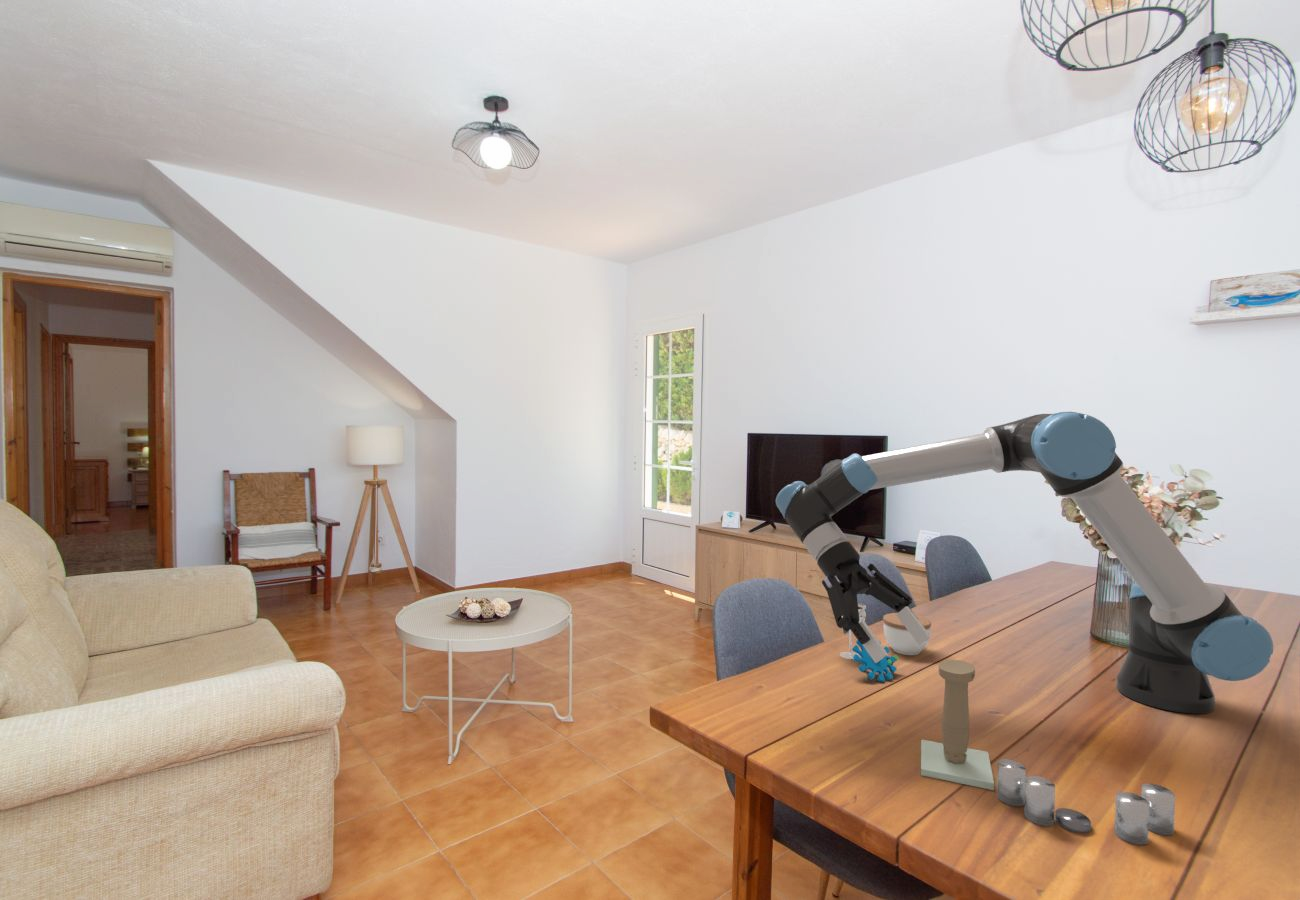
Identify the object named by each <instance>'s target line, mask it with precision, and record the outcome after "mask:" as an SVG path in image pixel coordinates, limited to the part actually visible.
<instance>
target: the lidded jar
mask: <svg viewBox="0 0 1300 900" xmlns="http://www.w3.org/2000/svg"><path fill="white" fill-rule="evenodd" d="M897 613H898V612H890V613H886V614H884V615H883V617H882V621H883V633H884V639H885V640H886V642H887V644H888V645H889V647H891V648H892V650H893V652H895V653H897V654H900V655H904V656H918V655H919V654H920V653H921V652H922V651H923V650H925V648H926V647H927V645H928V643H930V642H929V641H930V638H929V639H928V640H927V641H925V642H924V643H923V644H922V645H918V643H917V642H916V641H915V639H914V638H913V637H912V635H911V634H910V633H909V631H908V630H907V629H906V627H905V626H904V625H903V623H902V622H901V621H900V619H899V618H898V617H897V615H896V614H897ZM914 615H915V616H916V617H917V618H918V620H919V621H920V623H921V624H922V625H923V627H924V628H925V629H926V630H927V632H928V633H929V634H930V635H931V627H932V621H931V620H930V619H928V618H927V617H924V616H922V615H918V614H914Z"/></svg>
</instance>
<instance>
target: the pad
mask: <svg viewBox="0 0 1300 900" xmlns="http://www.w3.org/2000/svg"><path fill="white" fill-rule="evenodd" d="M920 741H921V742H920V776H923V777H928V778H932V779H938V780H942V781H946V782H947V781H948V782H952V783H957V784H962V785H965V786H966V785H967V786H970V787H971V786H972V787H976V788H981V789H986V790H990V791H995V781H994V775H993V770H992V765H991V761H990V755H989V752H988V751H986V750H981V749H974V748H970V747H968V748H967V752H966V753H965V754H966V755H967V757H966V761H965V762H964V763H958V764H956V763H954V762H951V761H948V760H946V756H945V755H944V749H943V748H944V747H943V742H937V741H933V740H925V739H921V740H920Z"/></svg>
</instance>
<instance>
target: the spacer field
mask: <svg viewBox="0 0 1300 900" xmlns="http://www.w3.org/2000/svg"><path fill="white" fill-rule="evenodd" d="M1026 772H1027V769H1026V766H1025V765H1024V764H1023V763H1020V761H1017V760H1013V759H1008V758H1001V759H999V760H998V761H997V782H996V783H997V785H996V787H997V788H996V796H997V799H998V800H999V801H1001V803H1003V804H1006V805H1008V806H1010V807H1011V806H1012V807H1023V806H1024V808H1023V810H1024V811H1023V815H1024V817H1025V819H1027V820H1028V821H1029V822H1030V823H1033V824H1035V825H1038V826H1041V827H1052V826H1054V824H1055V810H1056V809H1055V806H1056V805H1055V802H1056V800H1055V799H1056V798H1055V797H1056V785H1055V784H1054V783H1053V782H1052V781H1051V780H1049V779H1047V778H1045V777H1042V776H1038V775H1027V776H1026V774H1027V773H1026ZM1140 792H1141V795H1139V794H1135V793H1132V792H1128V791H1118V792H1116V793H1115V801H1114V802H1115V806H1114V807H1115V808H1114V810H1115V813H1114V834H1115V835H1116V836H1117V837H1118V838H1119V839H1121V840H1122V841H1124V842H1126V843H1129V844H1132V845H1136V846H1146V845H1147V844H1148V843H1149V831H1150V832H1152V833H1155V834H1157V835H1159V836H1160V835H1161V836H1172V835H1174V833H1175V812H1176V811H1175V809H1176V808H1175V807H1176V794H1175V793H1174V792H1173V791H1172V790H1171V789H1168V788H1166V787H1164V786H1162V785H1158V784H1157V783H1156V784H1154V783H1143V784H1142V785H1141V791H1140Z"/></svg>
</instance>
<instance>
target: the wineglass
mask: <svg viewBox="0 0 1300 900" xmlns="http://www.w3.org/2000/svg"><path fill="white" fill-rule="evenodd" d="M866 609H867V606H866V605H865V604H863V603H861V602H858V611H859V623H860V622H861V621H865V622H866V617H867V613H866V611H865V610H866ZM842 617H843V616H842ZM848 634H849V635H848V636H849V637H848V640H849V641H848V642H849V643H848V645H849V646H848V647H849V651H843V652H839V656H840V657H841V658H843V659H846V660H851V659H853V656H854V655H855V654H857V655H858V656H859V657H860V658H861V656H860V655H859V654H858V653H856V652H854V651H852V648H853V645H852V644H853V632H852V631H851V630H849V631H848Z"/></svg>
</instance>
